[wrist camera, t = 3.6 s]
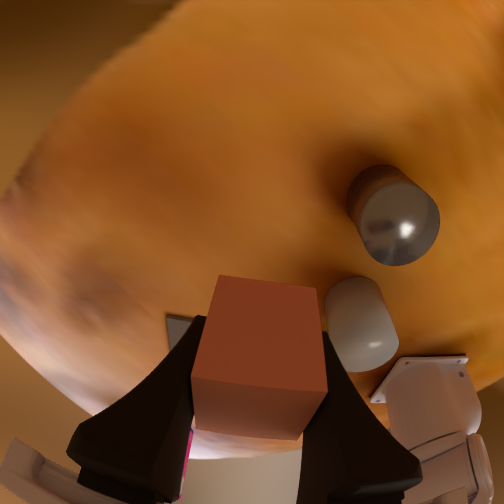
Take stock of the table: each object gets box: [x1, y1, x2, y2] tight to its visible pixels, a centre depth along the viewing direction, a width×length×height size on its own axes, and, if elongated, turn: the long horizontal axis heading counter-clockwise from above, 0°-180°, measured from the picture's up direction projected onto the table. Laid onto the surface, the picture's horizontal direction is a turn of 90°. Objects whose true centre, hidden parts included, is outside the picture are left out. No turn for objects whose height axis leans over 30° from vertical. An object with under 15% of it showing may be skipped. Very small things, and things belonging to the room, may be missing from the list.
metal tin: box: [347, 165, 440, 266], centre depth 15 cm, size 4×4×4 cm
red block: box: [191, 275, 328, 440], centre depth 11 cm, size 4×4×5 cm
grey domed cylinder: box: [324, 277, 399, 372], centre depth 19 cm, size 4×4×5 cm
